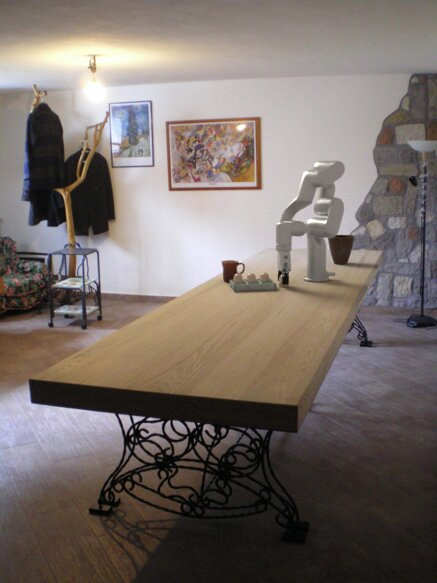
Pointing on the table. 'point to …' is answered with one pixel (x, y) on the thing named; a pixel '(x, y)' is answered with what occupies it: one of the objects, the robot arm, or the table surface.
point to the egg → (281, 282)
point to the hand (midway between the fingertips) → (283, 282)
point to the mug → (230, 269)
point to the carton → (252, 283)
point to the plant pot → (341, 248)
